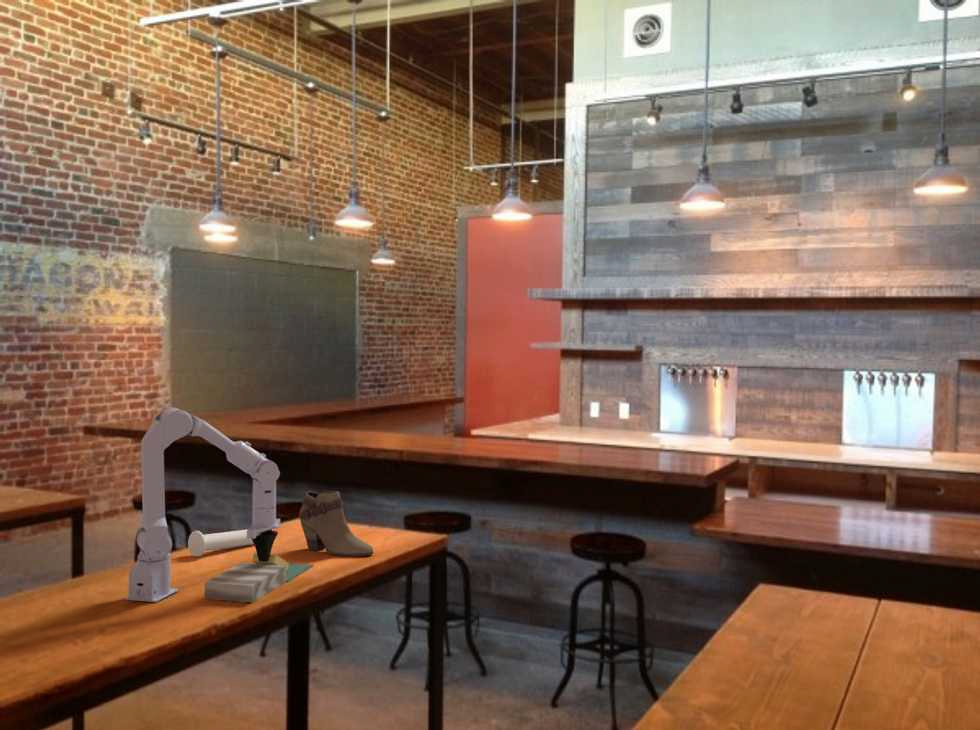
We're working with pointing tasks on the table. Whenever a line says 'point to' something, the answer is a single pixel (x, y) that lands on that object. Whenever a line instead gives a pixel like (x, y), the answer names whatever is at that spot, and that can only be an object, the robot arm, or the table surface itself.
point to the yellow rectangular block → (271, 561)
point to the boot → (329, 526)
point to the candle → (216, 541)
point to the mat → (296, 570)
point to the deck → (245, 582)
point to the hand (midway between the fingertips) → (263, 560)
